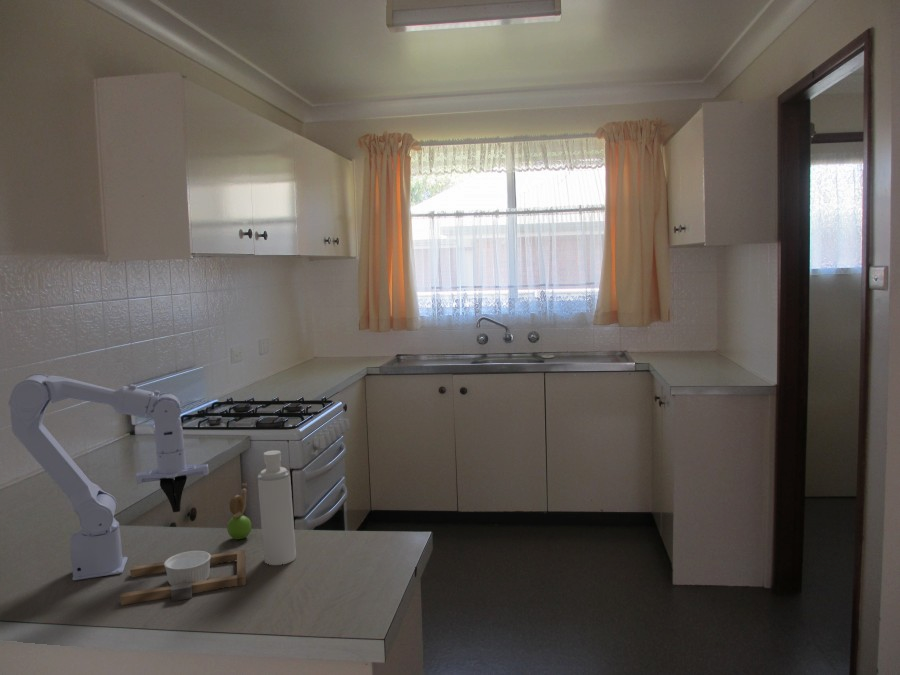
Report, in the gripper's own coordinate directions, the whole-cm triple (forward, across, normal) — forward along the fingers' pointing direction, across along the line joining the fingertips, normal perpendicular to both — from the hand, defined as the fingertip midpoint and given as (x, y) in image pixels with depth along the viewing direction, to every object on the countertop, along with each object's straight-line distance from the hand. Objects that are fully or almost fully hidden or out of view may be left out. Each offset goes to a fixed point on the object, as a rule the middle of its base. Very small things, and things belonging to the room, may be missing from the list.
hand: (176, 510), depth 157 cm
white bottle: (+11, +21, -10) cm, 25 cm away
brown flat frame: (+10, +2, -13) cm, 17 cm away
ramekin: (+11, +2, -13) cm, 17 cm away
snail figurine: (+11, +13, +6) cm, 18 cm away
